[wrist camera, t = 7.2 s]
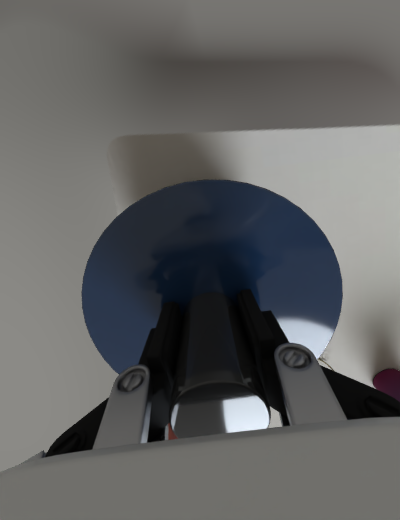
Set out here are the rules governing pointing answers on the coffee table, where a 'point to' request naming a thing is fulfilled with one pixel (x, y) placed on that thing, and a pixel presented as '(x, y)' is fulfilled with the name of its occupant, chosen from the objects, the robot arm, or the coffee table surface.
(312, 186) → the coffee table surface
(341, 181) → the coffee table surface
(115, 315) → the lid
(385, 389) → the cup
